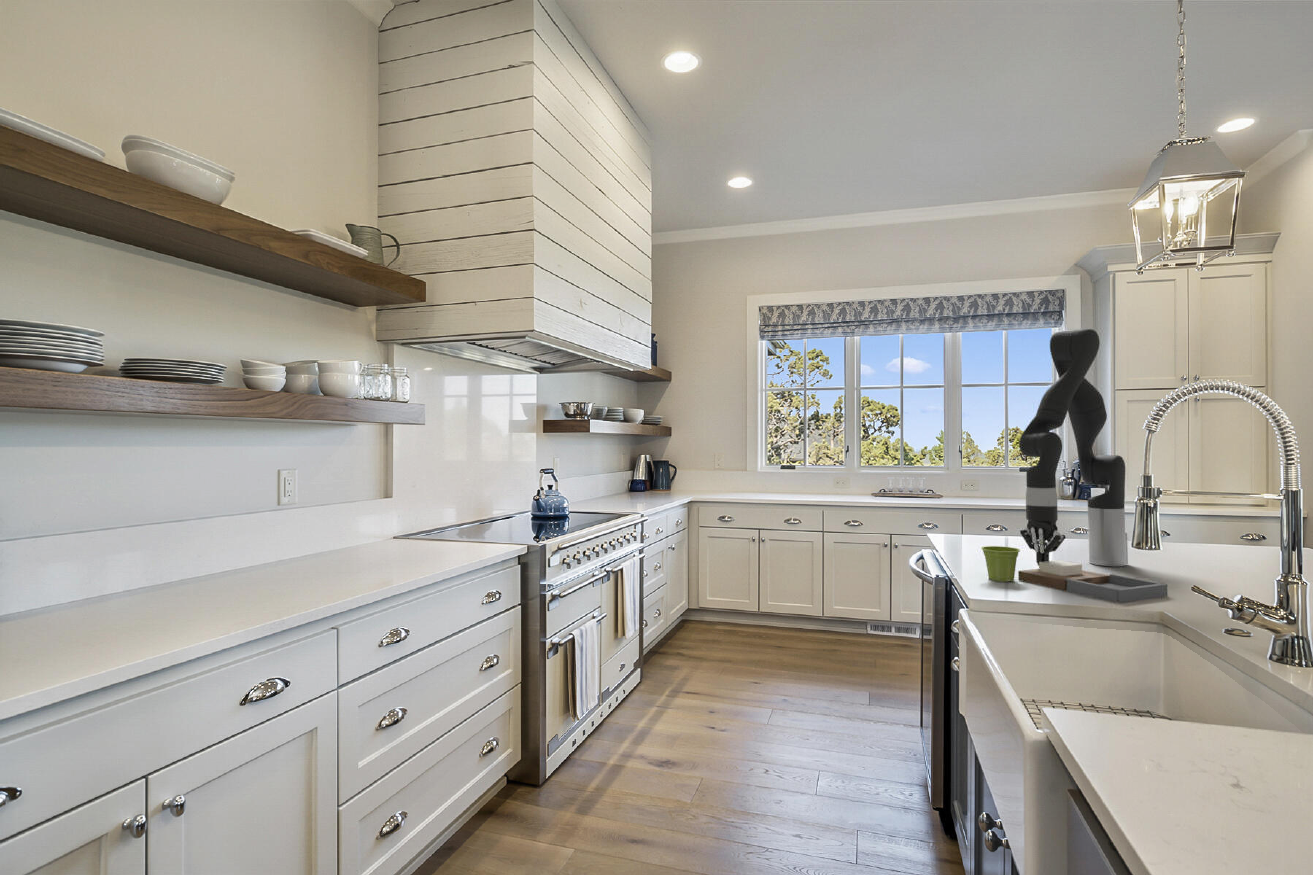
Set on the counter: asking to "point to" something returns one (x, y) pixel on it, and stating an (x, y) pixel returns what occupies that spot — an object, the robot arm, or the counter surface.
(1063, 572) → the tile
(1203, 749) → the counter surface
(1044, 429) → the robot arm
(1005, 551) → the plant pot
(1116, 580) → the tray
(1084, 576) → the brown square board
